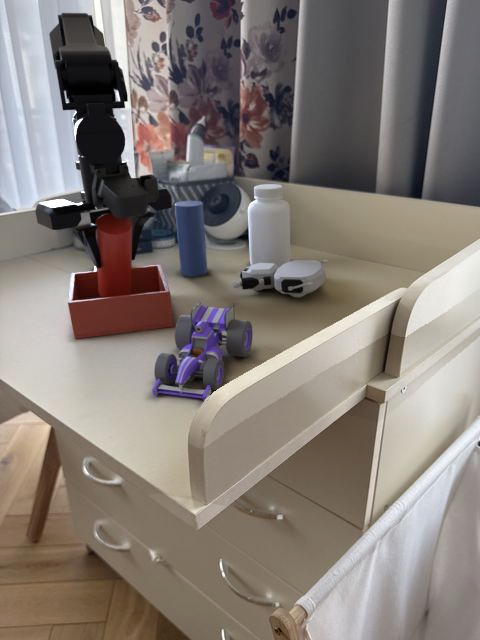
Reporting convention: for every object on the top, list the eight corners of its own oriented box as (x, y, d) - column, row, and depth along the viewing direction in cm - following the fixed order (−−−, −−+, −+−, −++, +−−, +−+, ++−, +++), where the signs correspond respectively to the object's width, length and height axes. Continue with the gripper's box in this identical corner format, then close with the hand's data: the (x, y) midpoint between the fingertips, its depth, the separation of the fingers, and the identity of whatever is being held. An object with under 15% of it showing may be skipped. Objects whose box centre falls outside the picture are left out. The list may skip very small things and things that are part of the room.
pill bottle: (252, 257, 111) (250, 182, 104) (292, 258, 110) (292, 182, 103) (246, 270, 104) (243, 190, 97) (288, 271, 103) (288, 190, 96)
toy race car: (141, 395, 64) (134, 346, 61) (188, 340, 77) (185, 297, 74) (218, 405, 62) (214, 354, 59) (253, 347, 75) (252, 303, 72)
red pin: (95, 282, 87) (92, 214, 77) (127, 279, 89) (128, 212, 79) (101, 304, 84) (99, 235, 74) (134, 300, 86) (135, 233, 76)
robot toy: (229, 302, 91) (316, 306, 87) (226, 277, 90) (315, 279, 85) (253, 279, 102) (331, 280, 97) (250, 255, 100) (331, 255, 95)
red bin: (77, 305, 89) (71, 273, 87) (163, 295, 93) (160, 264, 90) (74, 339, 78) (67, 302, 76) (173, 326, 81) (170, 291, 79)
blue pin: (179, 269, 105) (173, 201, 99) (204, 267, 106) (200, 199, 100) (182, 278, 101) (176, 207, 95) (209, 275, 102) (205, 205, 96)
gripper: (58, 168, 64) (81, 293, 71) (189, 152, 75) (197, 261, 82) (23, 159, 71) (46, 273, 78) (146, 145, 82) (157, 246, 89)
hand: (115, 263), depth 82 cm, fingers open, 5 cm apart
